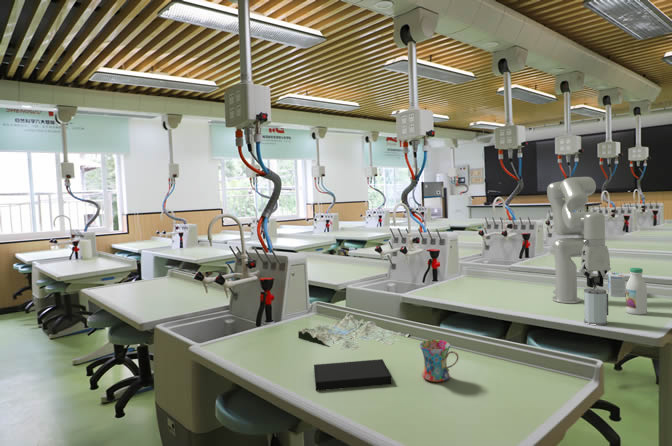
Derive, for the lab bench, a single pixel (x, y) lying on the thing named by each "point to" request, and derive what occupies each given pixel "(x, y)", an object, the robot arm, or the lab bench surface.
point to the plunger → (596, 281)
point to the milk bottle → (636, 293)
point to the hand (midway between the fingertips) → (595, 286)
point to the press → (595, 306)
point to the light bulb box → (616, 284)
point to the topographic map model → (347, 333)
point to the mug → (436, 360)
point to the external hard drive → (351, 374)
